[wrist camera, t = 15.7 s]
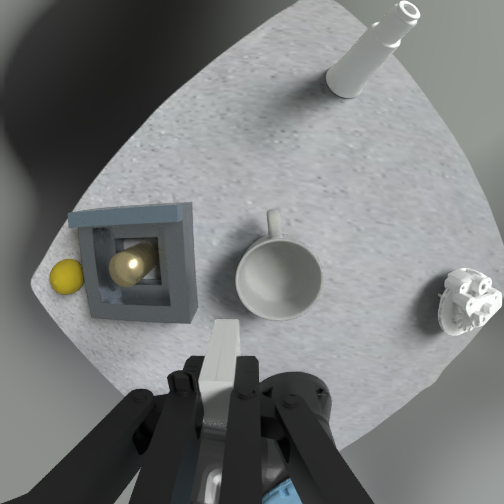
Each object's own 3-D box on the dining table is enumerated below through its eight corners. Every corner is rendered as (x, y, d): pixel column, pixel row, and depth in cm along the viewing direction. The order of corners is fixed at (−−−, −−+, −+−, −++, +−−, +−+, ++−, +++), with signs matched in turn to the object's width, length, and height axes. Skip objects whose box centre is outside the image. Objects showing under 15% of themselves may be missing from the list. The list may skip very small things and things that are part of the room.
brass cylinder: (160, 271, 42) (141, 287, 35) (133, 270, 42) (111, 286, 35) (157, 241, 42) (138, 252, 34) (130, 242, 42) (106, 252, 34)
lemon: (63, 265, 42) (36, 277, 35) (81, 248, 42) (53, 259, 34) (79, 291, 43) (54, 307, 35) (98, 275, 43) (73, 291, 35)
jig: (198, 306, 44) (186, 331, 35) (108, 303, 44) (84, 323, 35) (192, 202, 40) (177, 204, 32) (97, 208, 40) (67, 213, 32)
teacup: (306, 302, 43) (316, 324, 36) (235, 297, 43) (232, 319, 35) (317, 211, 41) (332, 215, 33) (242, 204, 40) (240, 207, 33)
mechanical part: (422, 328, 45) (456, 359, 33) (430, 266, 42) (471, 286, 31) (464, 317, 44) (499, 342, 33) (472, 260, 42) (513, 277, 30)
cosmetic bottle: (344, 105, 37) (417, 43, 16) (317, 76, 36) (367, -6, 15) (369, 86, 36) (446, 25, 15) (343, 58, 35) (402, -19, 14)
